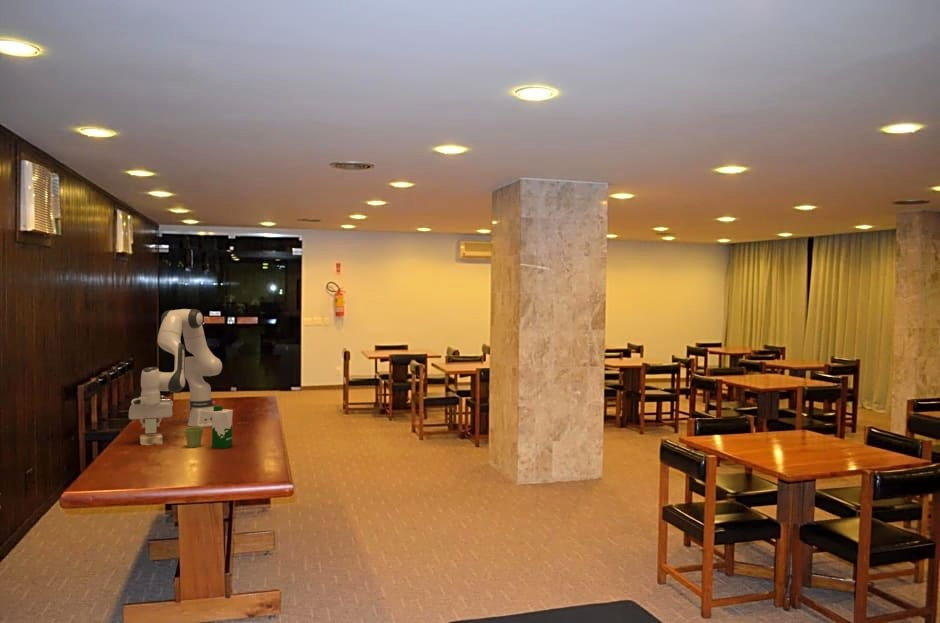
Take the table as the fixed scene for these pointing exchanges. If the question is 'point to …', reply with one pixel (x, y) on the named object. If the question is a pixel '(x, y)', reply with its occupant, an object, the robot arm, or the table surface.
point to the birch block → (151, 439)
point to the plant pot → (193, 436)
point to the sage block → (150, 425)
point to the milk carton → (221, 427)
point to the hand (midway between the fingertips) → (150, 427)
